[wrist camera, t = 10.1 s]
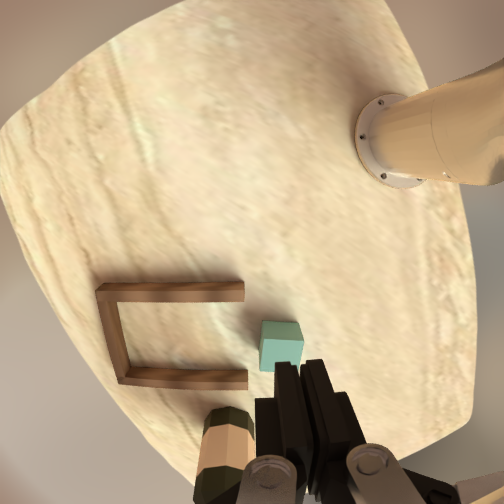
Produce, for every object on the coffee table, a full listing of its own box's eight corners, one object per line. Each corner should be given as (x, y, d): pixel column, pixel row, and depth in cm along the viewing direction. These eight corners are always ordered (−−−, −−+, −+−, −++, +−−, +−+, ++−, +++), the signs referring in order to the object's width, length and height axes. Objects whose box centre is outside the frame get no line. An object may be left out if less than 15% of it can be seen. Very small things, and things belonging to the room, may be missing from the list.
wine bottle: (230, 398, 45) (219, 575, 16) (264, 424, 47) (273, 585, 18) (194, 419, 46) (166, 577, 17) (228, 443, 48) (220, 590, 19)
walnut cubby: (244, 281, 40) (243, 290, 37) (248, 377, 44) (248, 390, 41) (104, 282, 40) (94, 290, 37) (124, 373, 44) (118, 384, 41)
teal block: (298, 322, 42) (304, 340, 37) (293, 352, 43) (297, 372, 38) (262, 320, 42) (263, 338, 37) (258, 350, 43) (259, 371, 38)
